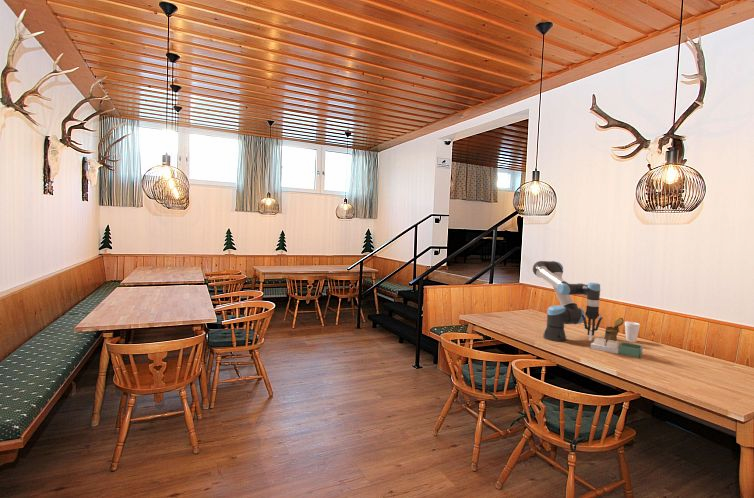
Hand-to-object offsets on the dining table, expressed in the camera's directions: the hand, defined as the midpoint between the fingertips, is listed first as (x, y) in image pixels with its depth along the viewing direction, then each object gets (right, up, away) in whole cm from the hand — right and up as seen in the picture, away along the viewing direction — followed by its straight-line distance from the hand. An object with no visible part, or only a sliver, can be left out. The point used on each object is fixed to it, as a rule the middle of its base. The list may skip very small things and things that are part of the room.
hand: (590, 340), depth 277 cm
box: (+18, -6, -14) cm, 24 cm away
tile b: (+11, -2, -8) cm, 13 cm away
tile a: (+5, -2, -3) cm, 6 cm away
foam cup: (+41, -5, +21) cm, 46 cm away
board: (+7, -5, -5) cm, 10 cm away
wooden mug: (+22, -5, +11) cm, 25 cm away
